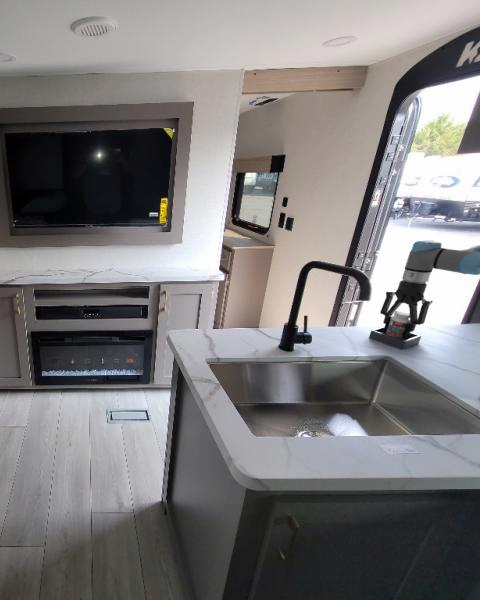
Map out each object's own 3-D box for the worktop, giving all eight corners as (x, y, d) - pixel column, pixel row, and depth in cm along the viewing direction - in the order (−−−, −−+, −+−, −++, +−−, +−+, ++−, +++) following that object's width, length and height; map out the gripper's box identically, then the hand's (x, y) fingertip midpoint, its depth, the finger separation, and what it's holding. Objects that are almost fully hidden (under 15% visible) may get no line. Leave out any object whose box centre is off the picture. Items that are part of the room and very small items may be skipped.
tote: (418, 343, 131) (421, 335, 130) (402, 349, 127) (405, 341, 126) (384, 332, 141) (387, 325, 140) (368, 337, 137) (371, 330, 136)
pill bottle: (389, 337, 132) (397, 315, 128) (382, 331, 137) (390, 309, 133) (407, 339, 130) (415, 316, 127) (399, 333, 135) (407, 311, 132)
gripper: (379, 276, 132) (363, 327, 140) (441, 289, 116) (419, 346, 124) (390, 273, 135) (374, 324, 143) (452, 286, 118) (430, 342, 127)
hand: (395, 334), depth 133 cm, fingers closed on pill bottle, 6 cm apart
